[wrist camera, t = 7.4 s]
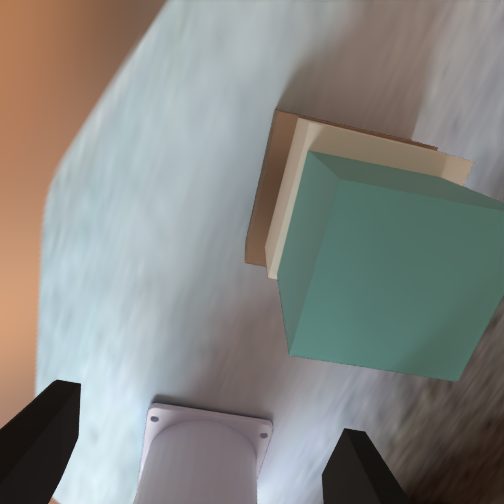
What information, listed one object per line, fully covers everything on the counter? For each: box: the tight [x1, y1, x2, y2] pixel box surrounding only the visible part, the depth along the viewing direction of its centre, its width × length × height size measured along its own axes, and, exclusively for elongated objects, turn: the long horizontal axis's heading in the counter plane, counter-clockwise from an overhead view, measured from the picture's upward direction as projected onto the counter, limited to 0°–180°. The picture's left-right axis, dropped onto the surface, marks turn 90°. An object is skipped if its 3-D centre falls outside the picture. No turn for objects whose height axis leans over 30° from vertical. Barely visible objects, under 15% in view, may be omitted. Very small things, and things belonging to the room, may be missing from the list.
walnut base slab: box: [245, 110, 438, 267], centre depth 17 cm, size 6×6×3 cm
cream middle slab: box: [265, 118, 474, 280], centre depth 14 cm, size 6×6×3 cm
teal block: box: [277, 150, 504, 382], centre depth 10 cm, size 4×4×4 cm
